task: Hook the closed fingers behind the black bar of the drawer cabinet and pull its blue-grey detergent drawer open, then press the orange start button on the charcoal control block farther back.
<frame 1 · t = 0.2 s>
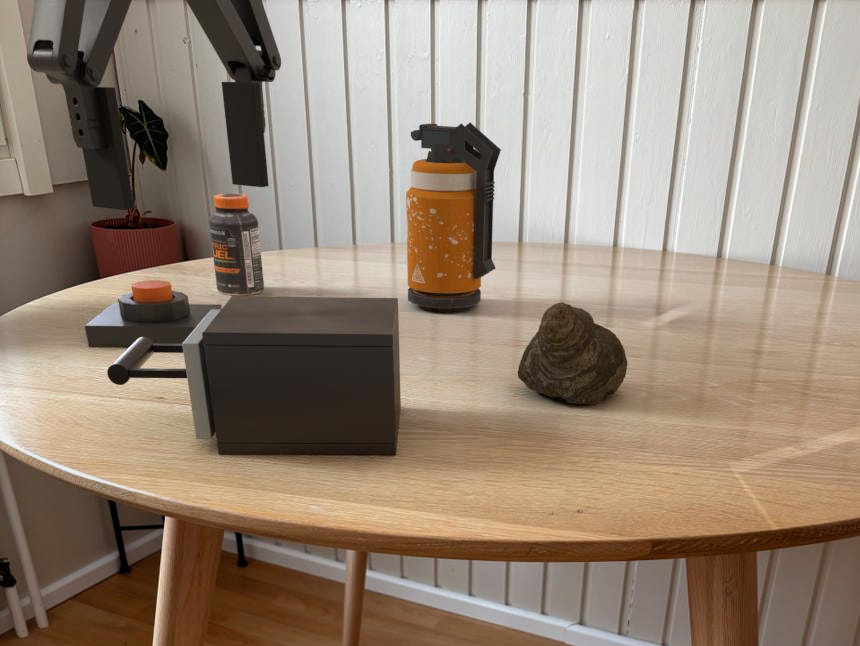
hand: (187, 196, 64), 18 cm above the table, tool pointing down, fingers open, 13 cm apart
canister: (451, 308, 116), on the table
dispenser drawer: (243, 372, 75), point 5 cm above the table, slide at 0.5 cm
start button: (152, 292, 99), point 4 cm above the table, slide at 0.1 cm
seashell: (583, 392, 89), on the table
control block: (159, 335, 102), on the table
pill bottle: (241, 292, 121), on the table
drawer cabinet: (315, 428, 78), on the table
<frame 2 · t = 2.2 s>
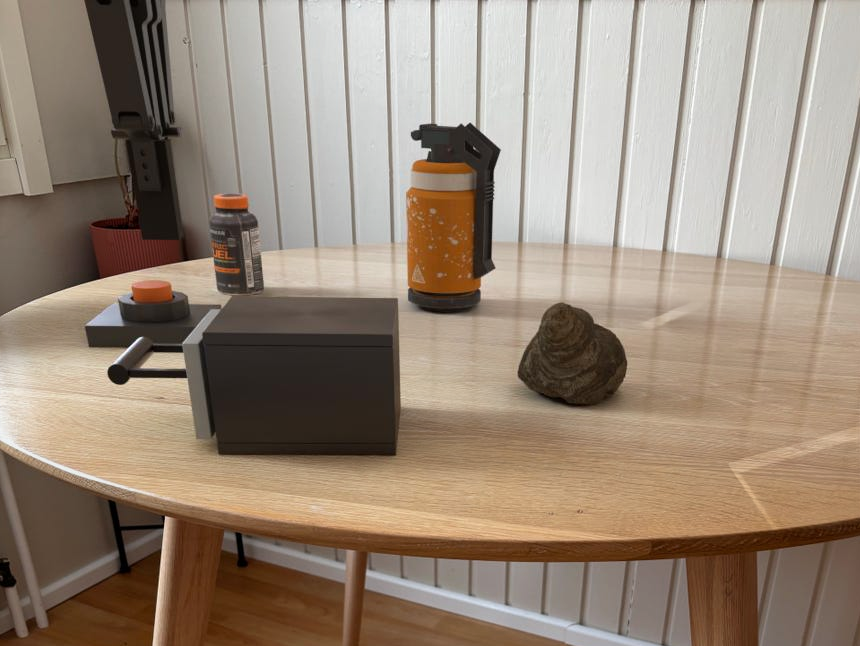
hand: (163, 237, 70), 15 cm above the table, tool pointing down, fingers closed
nothing on the table moved.
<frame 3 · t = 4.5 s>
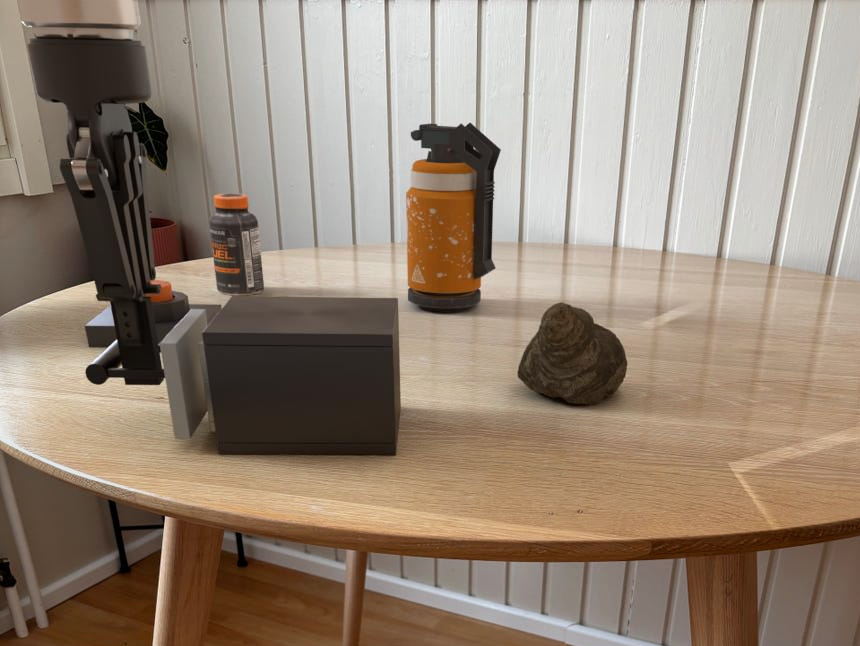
hand: (144, 381, 76), 4 cm above the table, tool pointing down, fingers closed
dispenser drawer: (222, 372, 75), point 5 cm above the table, slide at 2.1 cm, touching gripper
everything else where it was.
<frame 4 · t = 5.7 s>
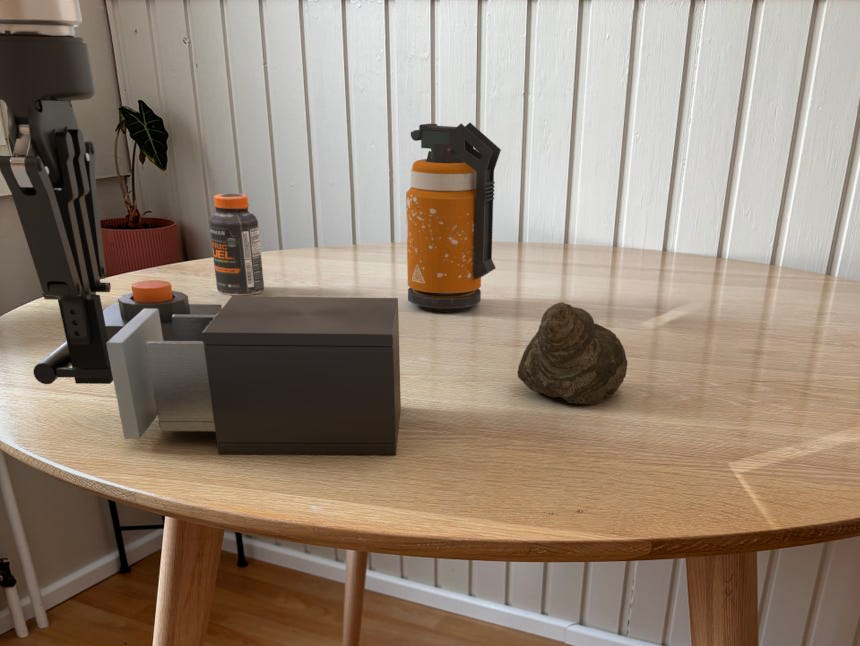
hand: (95, 380, 75), 4 cm above the table, tool pointing down, fingers closed
dispenser drawer: (174, 372, 75), point 5 cm above the table, slide at 6.0 cm, touching gripper
everything else where it was.
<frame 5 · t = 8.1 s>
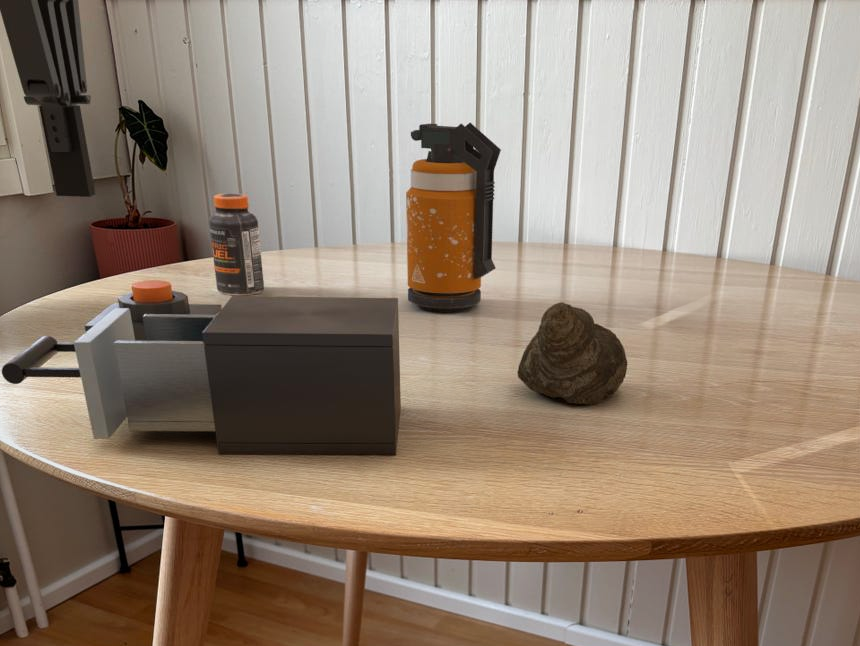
hand: (76, 194, 78), 16 cm above the table, tool pointing down, fingers closed
dispenser drawer: (144, 371, 75), point 5 cm above the table, slide at 8.3 cm
everything else where it was.
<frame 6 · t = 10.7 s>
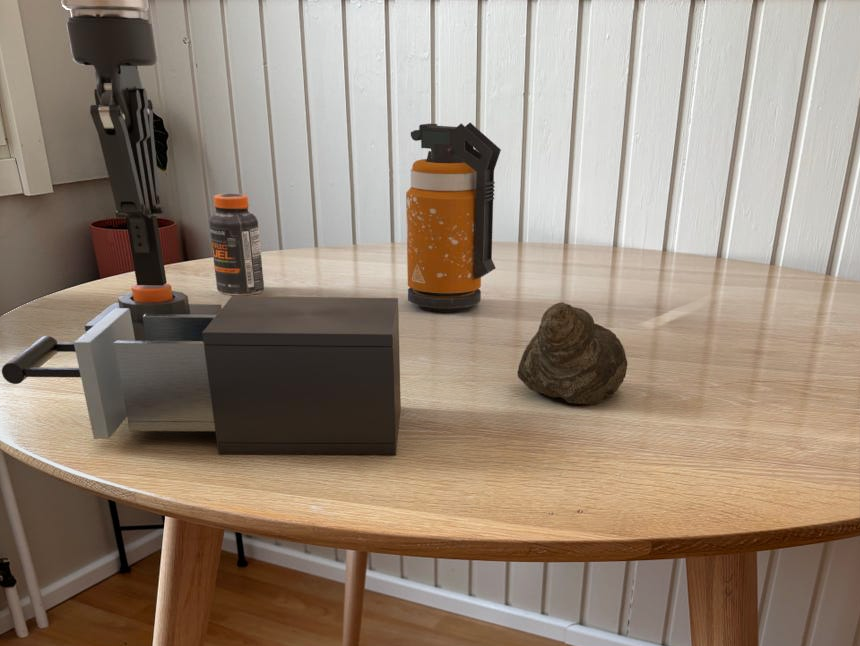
hand: (152, 283, 99), 5 cm above the table, tool pointing down, fingers closed
start button: (152, 294, 99), point 4 cm above the table, slide at -0.1 cm, touching gripper
everything else where it was.
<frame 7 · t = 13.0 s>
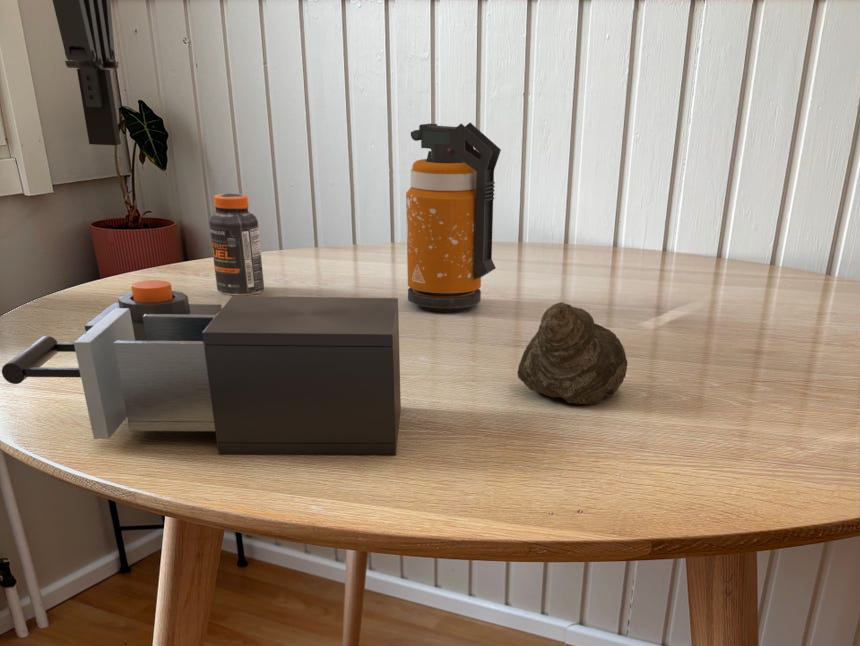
hand: (105, 143, 95), 18 cm above the table, tool pointing down, fingers closed
start button: (152, 292, 99), point 4 cm above the table, slide at 0.1 cm
everything else where it was.
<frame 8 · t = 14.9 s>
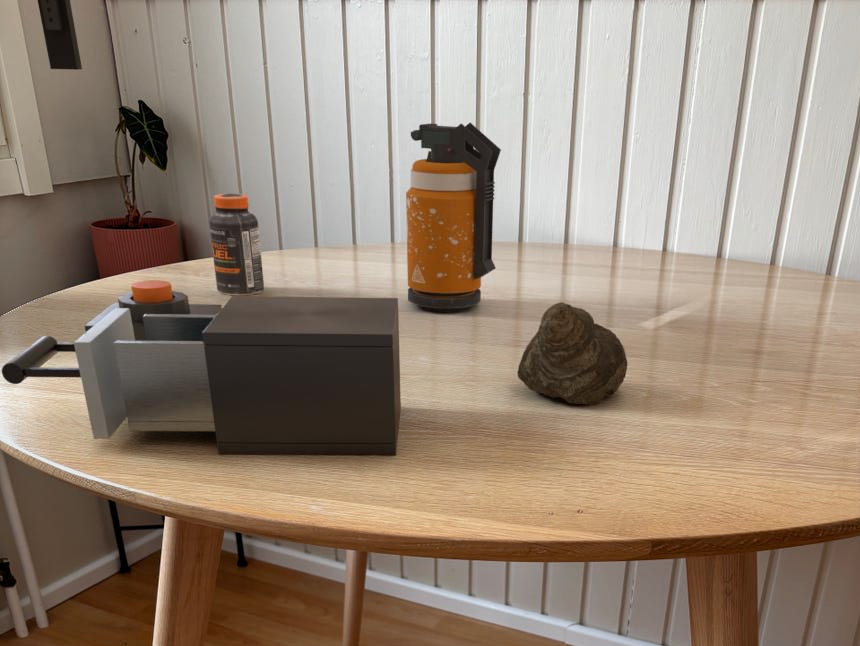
hand: (66, 68, 97), 24 cm above the table, tool pointing down, fingers closed
nothing on the table moved.
at the end: dispenser drawer slide at 8.3 cm; start button pushed in 1.0 cm at the most during the clip, back to where it started at the end; start button slide at 0.1 cm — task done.
